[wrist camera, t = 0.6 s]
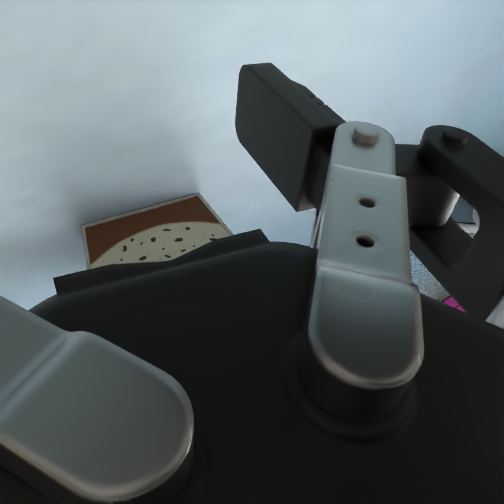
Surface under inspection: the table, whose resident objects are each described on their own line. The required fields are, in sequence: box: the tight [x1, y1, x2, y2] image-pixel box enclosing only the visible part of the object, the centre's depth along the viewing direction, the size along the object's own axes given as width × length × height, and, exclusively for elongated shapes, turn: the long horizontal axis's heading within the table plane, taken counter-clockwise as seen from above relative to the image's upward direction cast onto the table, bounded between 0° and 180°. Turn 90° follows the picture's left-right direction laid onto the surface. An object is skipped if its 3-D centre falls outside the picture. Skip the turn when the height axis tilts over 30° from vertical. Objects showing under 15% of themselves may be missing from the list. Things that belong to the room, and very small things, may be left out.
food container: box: [81, 193, 233, 270], centre depth 36 cm, size 12×6×10 cm, turn 89°
